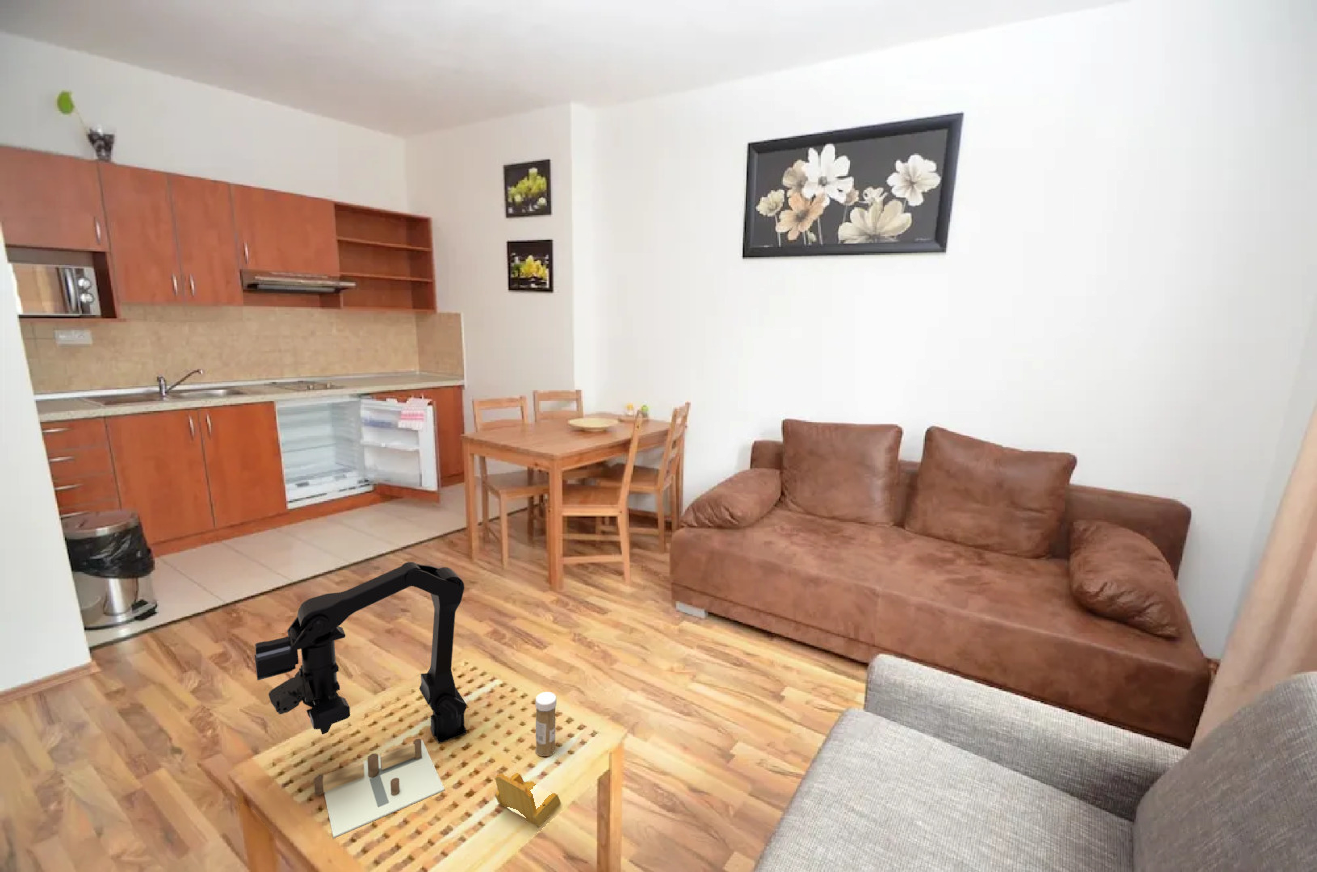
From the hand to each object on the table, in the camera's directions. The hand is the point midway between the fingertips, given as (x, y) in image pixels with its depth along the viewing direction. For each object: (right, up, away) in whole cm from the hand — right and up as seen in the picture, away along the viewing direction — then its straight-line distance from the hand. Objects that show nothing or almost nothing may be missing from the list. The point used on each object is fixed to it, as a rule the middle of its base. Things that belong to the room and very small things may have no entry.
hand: (323, 730), depth 116 cm
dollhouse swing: (+42, -14, -2) cm, 44 cm away
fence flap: (+4, -11, -1) cm, 11 cm away
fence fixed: (+14, -11, +3) cm, 18 cm away
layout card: (+11, -12, +1) cm, 16 cm away
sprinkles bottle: (+43, -11, +13) cm, 46 cm away
